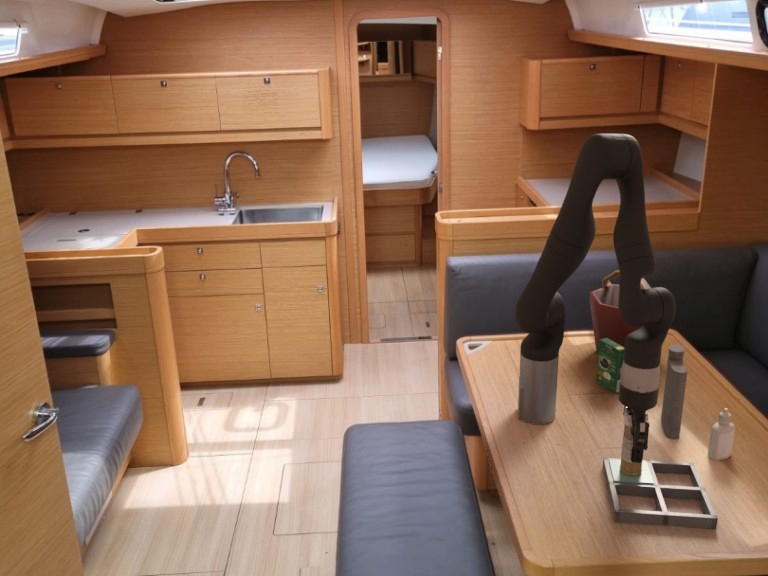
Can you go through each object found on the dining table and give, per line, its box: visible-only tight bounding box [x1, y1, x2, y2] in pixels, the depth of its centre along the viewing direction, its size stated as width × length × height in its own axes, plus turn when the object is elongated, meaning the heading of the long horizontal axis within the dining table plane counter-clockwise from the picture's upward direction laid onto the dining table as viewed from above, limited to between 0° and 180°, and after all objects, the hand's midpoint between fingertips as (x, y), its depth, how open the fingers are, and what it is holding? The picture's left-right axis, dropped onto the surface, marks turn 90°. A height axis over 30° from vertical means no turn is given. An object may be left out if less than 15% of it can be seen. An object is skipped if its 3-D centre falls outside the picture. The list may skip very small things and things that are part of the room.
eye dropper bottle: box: [707, 407, 736, 461], centre depth 162 cm, size 4×6×12 cm
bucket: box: [589, 270, 652, 354], centre depth 210 cm, size 24×22×25 cm
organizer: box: [602, 457, 719, 530], centre depth 151 cm, size 19×19×3 cm
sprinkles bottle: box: [620, 413, 645, 476], centre depth 153 cm, size 5×5×13 cm
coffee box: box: [595, 338, 624, 395], centre depth 194 cm, size 8×3×13 cm, turn 26°
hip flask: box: [660, 344, 688, 440], centre depth 175 cm, size 16×4×20 cm, turn 162°
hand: (632, 450), depth 153 cm, fingers open, 8 cm apart
